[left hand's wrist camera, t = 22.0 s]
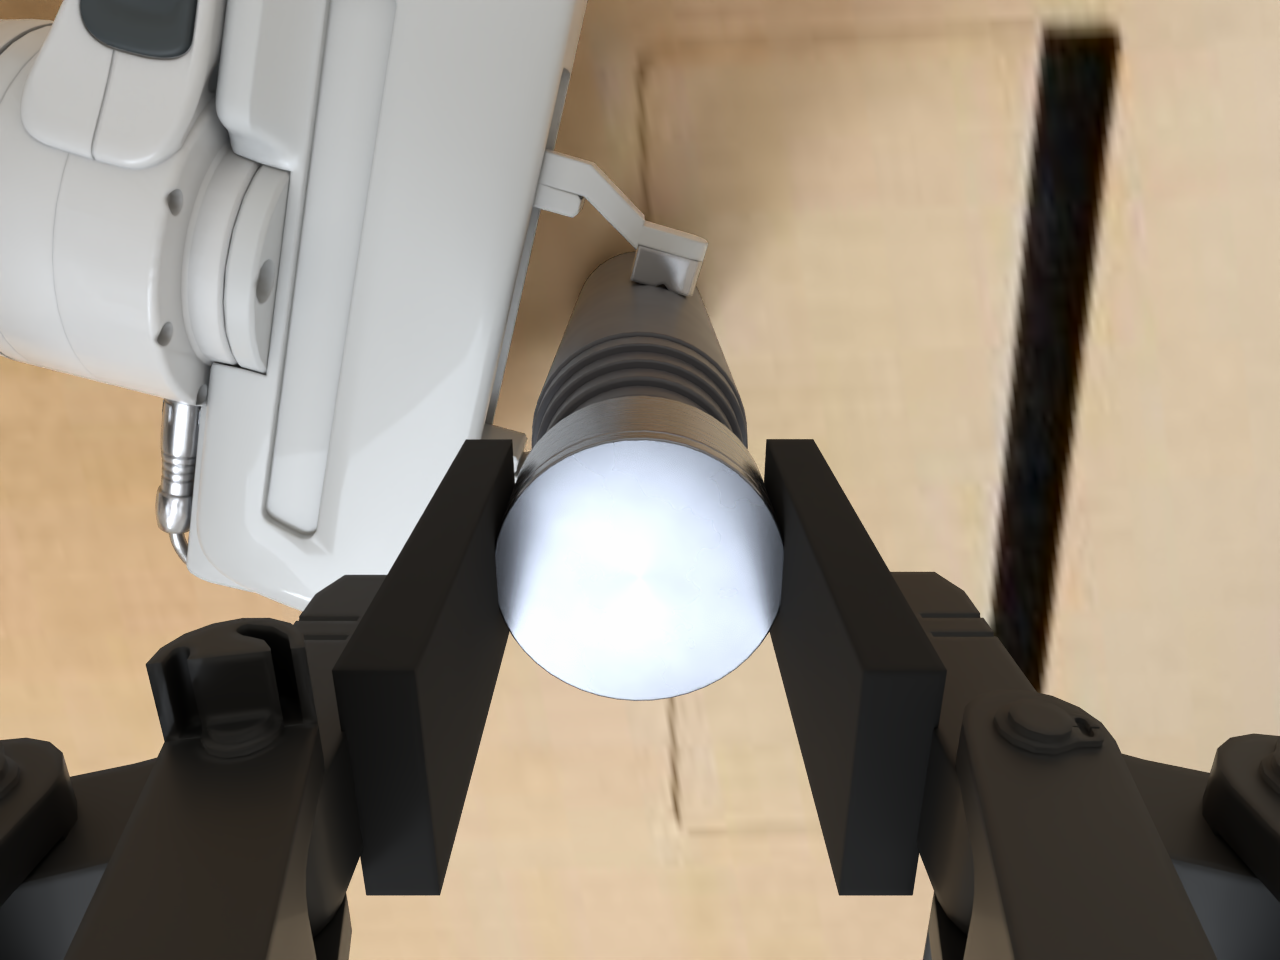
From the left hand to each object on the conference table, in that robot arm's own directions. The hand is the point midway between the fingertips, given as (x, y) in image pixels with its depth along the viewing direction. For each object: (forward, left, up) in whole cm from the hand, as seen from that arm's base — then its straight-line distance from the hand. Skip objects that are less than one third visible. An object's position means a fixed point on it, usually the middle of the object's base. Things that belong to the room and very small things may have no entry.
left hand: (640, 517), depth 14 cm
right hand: (-1, 0, -11) cm, 11 cm away
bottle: (0, 0, -18) cm, 18 cm away
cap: (0, 0, +2) cm, 2 cm away
